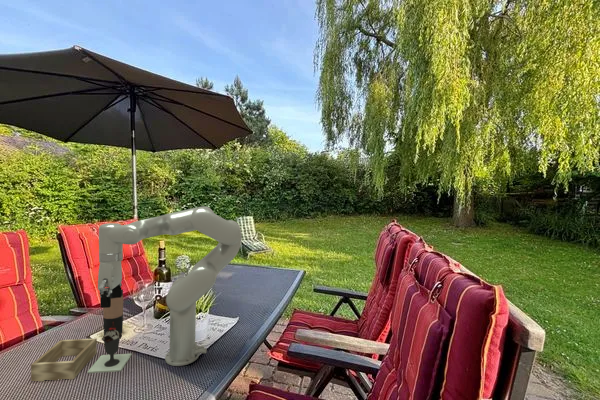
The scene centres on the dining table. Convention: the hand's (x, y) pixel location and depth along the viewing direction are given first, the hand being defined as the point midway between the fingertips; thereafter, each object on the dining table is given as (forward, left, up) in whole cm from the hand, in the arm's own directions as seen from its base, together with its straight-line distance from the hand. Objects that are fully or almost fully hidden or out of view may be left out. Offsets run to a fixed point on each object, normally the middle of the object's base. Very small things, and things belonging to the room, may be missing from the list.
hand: (111, 302), depth 118 cm
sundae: (0, +1, -23) cm, 23 cm away
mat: (0, 0, -24) cm, 24 cm away
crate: (+15, 0, -24) cm, 28 cm away
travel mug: (+9, -24, -24) cm, 35 cm away
